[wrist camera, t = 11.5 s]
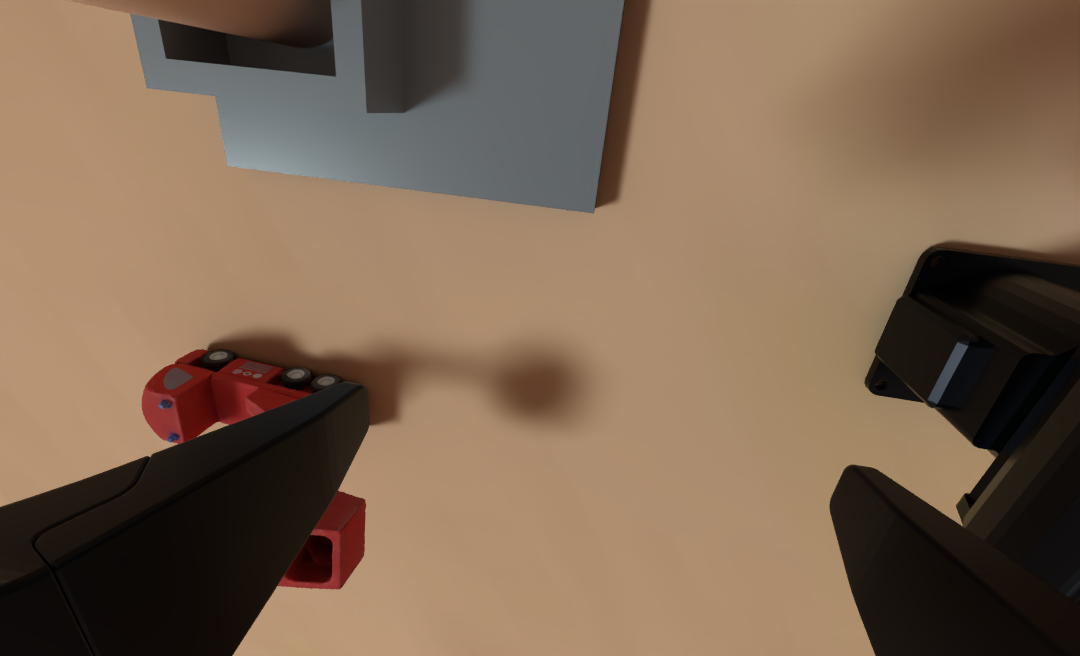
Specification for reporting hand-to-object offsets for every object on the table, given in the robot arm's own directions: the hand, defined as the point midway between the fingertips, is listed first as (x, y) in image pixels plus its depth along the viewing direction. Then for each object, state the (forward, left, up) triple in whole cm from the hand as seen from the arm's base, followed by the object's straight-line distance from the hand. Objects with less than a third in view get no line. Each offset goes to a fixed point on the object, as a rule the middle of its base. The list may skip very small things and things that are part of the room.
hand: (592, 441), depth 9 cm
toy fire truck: (+15, +10, -13) cm, 22 cm away
